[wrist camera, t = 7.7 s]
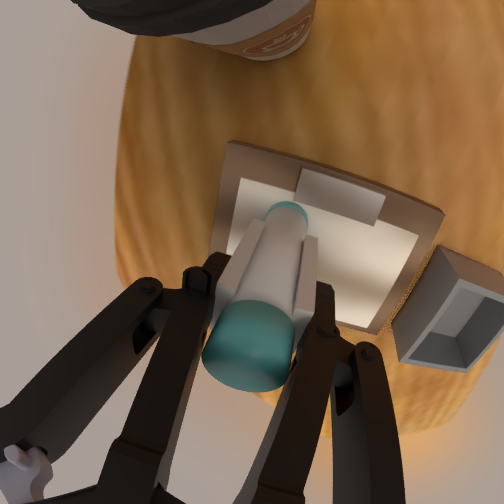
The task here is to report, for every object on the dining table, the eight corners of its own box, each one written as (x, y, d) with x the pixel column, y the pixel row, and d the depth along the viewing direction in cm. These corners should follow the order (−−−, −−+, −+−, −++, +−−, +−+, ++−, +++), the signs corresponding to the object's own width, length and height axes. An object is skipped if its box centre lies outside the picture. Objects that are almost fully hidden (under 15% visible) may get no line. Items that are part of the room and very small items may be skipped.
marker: (270, 195, 20) (204, 326, 9) (314, 207, 19) (301, 354, 8) (261, 234, 21) (199, 377, 10) (302, 245, 21) (275, 399, 10)
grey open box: (437, 244, 20) (459, 278, 15) (500, 272, 19) (522, 304, 15) (391, 323, 24) (398, 361, 20) (454, 338, 24) (466, 372, 20)
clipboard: (232, 139, 20) (223, 143, 18) (439, 208, 18) (449, 218, 17) (208, 277, 26) (201, 290, 25) (375, 326, 25) (377, 341, 23)
